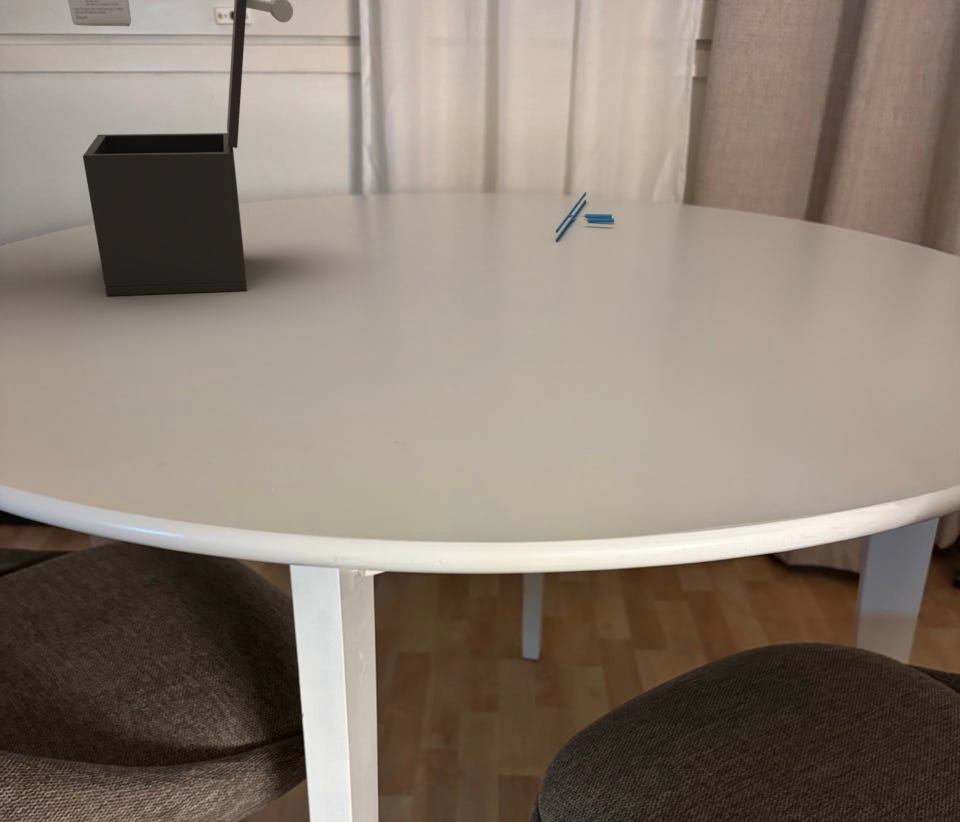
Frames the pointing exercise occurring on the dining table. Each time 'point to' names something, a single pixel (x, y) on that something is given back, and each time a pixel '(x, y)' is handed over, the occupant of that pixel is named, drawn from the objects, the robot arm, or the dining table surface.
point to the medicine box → (100, 12)
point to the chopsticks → (591, 217)
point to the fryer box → (166, 213)
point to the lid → (280, 12)
